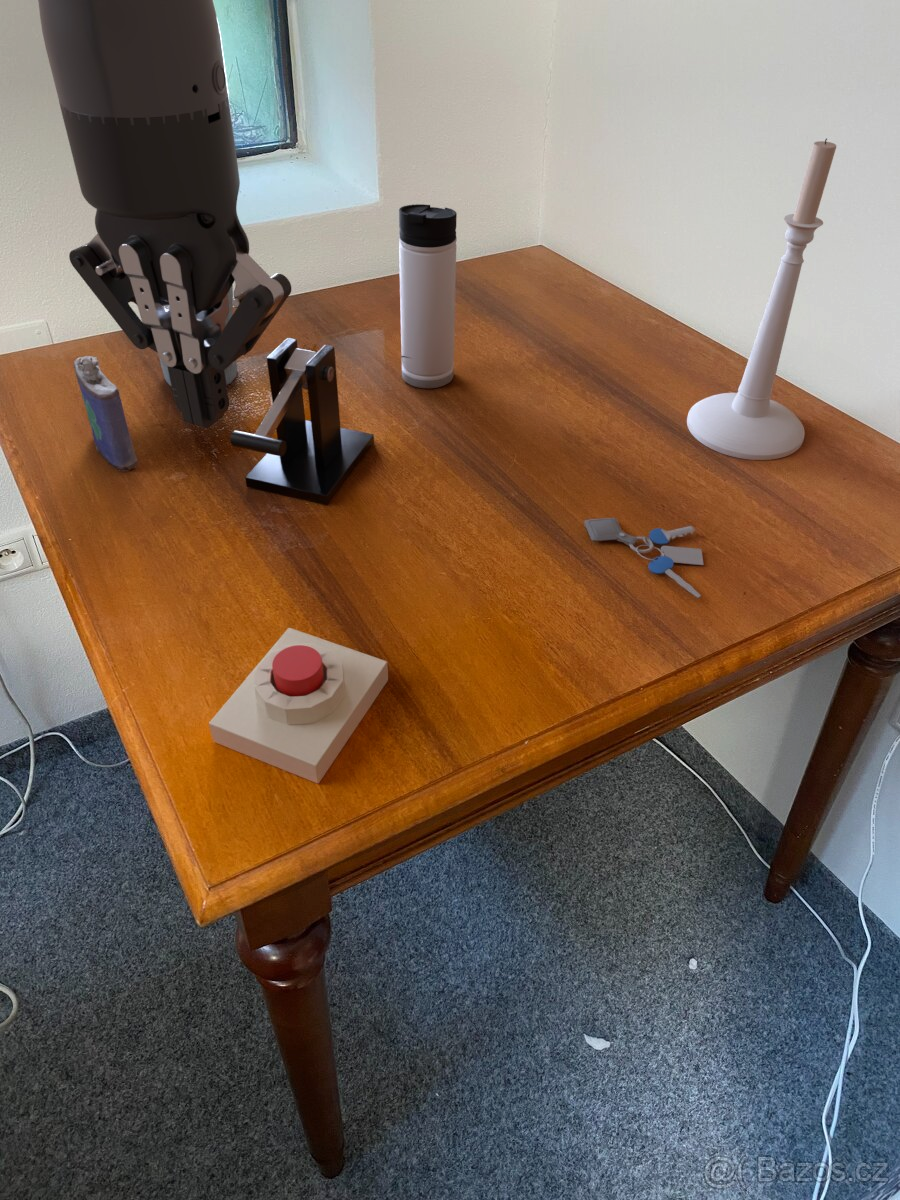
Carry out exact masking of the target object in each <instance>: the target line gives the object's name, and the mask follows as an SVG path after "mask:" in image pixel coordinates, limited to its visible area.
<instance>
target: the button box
mask: <svg viewBox="0 0 900 1200" xmlns="http://www.w3.org/2000/svg"><path fill="white" fill-rule="evenodd" d="M295 645H304V646H309V647H311V648H313V649H315V650H316V651H317V652H318V653H319V654H320V655H321V658H322V665H323V673H324V679H323V682H322V684H321V686H320V687H319V688H318V689H317V690H316V691H314V692H313V693H311V694H309V695H306V696H295V697H293V696H288V695H286V694H283V693H282V692H281V691H279V690H278V688H277V687H276V685H275V680H274V674H273V668H272V663H273V660H274V658H275V656H276V655H277V654H278V653H279V652H280V651H282V650H283V649H285V648H287V647H290V646H295ZM388 665H389V664H388V661H387V660H384V659H381V658H378V657H375V656H373V655H370V654H367V653H364V652H361V651H358V650H356V649H352V648H349V647H347V646H344V645H342V644H338V643H336V642H332V641H329V640H326V639H323V638H320V637H318V636H315V635H311V634H309V633H307V632H303V631H300V630H297V629H295V628H291V627H288V628H287V629H286V630H285V631H284V633H283V634H281V636H280V637H279V639H277V641H276V642H275V643H274V644H273V645H272V647H271V648H270V649H269V650H268V652H267V653H266V654H265V655H264V657H262V659H261V660H260V661H259V662H258V663H257V665H256V666H255V667H254V668H253V669H252V671H251V672H250V673H249V674H248V675H247V676H246V678H245V679H244V680H243V682H241V683H240V685H239V686H238V687H237V688H236V690H235V691H234V692H233V693H232V695H231V696H230V697H229V698H228V699H227V700H226V701H225V703H224V704H223V705H222V706H221V708H220V709H218V711H217V712H216V714H215V715H213V717H212V719H211V720H210V721H209V722H208V726H209V730H210V734H211V737H212V741H213V743H215V744H218V745H221V746H222V747H226V748H228V749H230V750H233V751H236V752H238V753H240V754H242V755H246V756H248V757H250V758H253V759H255V760H258V761H260V762H263V763H265V764H268V765H270V766H273V767H275V768H278V769H280V770H282V771H285V772H288V773H290V774H292V775H295V776H298V777H301V778H303V779H305V780H308V781H310V782H313V783H315V784H320V782H321V781H322V779H323V778H324V776H325V775H326V773H327V772H328V770H329V769H330V768H331V766H332V765H333V763H334V761H335V760H336V758H337V757H338V756H339V754H340V753H341V751H342V749H343V748H344V746H345V745H346V744H347V742H348V741H349V740H350V738H351V736H352V735H353V733H354V732H355V730H356V729H357V728H358V726H359V724H360V723H361V722H362V720H363V718H364V717H365V716H366V714H367V713H368V712H369V710H370V708H371V706H373V704H374V702H375V700H376V699H377V697H379V695H380V693H381V691H382V690H383V689H384V687H385V685H386V684H387V683H388V681H389V667H388Z"/></svg>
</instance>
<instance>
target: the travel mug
mask: <svg viewBox="0 0 900 1200" xmlns="http://www.w3.org/2000/svg"><path fill="white" fill-rule="evenodd" d="M457 217H458V216H457V211H456V210H454V209H452V208H448V207H444V208H441V207H436V206H435V207H433V206H431V204H423V203H421V204H417V203H415V204H407V205H403V206H401V207H399V209H398V228H399V233H398V242H399V244H398V259H399V261H398V262H399V263H398V264H399V301H400V302H399V303H400V304H399V305H400V306H399V307H400V310H399V311H400V349H401V350H400V352H401V354H400V355H401V356H400V357H401V378H402V379H403V381H404V383H407V384H408V385H409V386H412V387H415V388H418V389H438V388H442V387H444V386H447V385H448V384H450V382H452V380H453V378H454V375H455V371H454V369H455V368H454V367H455V366H454V365H455V363H454V362H455V328H456V327H455V325H456V324H455V323H456V281H457V280H456V279H457V241H458V240H457V231H456V230H457Z"/></svg>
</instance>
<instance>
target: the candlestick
mask: <svg viewBox="0 0 900 1200" xmlns="http://www.w3.org/2000/svg"><path fill="white" fill-rule="evenodd" d="M836 150H837V144H836V143H834V142H830V141H828V138H825V139H824V141H823V140H819V141H818V140H817V141H814V142H813V144H812V148H811V152H810V156H809V159H808V162H807V167H806V169H805V174H804V177H803V181H802V183H801V187H800V191H799V195H798V199H797V202H796V206H795V210H794V213H791V214H790V213H789V214H787V215H785V216H784V217H783V220H784V222H785V223H786V225H787V229H786V231H785V233H784V238H785V240H786V241H787V242H786V251H785V253H784V254H783V255H782V256H781V258H780V260H781V261H780V264H779V267H778V268H777V269H778V270H777V273H776V276H775V278H774V281H773V285H772V288H771V291H770V294H769V297H768V300H767V303H766V306H765V310H764V313H763V315H762V318H761V322H760V324H759V327H758V330H757V333H756V337H755V339H754V342H753V345H752V348H751V351H750V353H749V354H750V355H749V358H748V360H747V363H746V366H745V369H744V373H743V375H742V379H741V381H740V384H739V386H738V389H737V392H724V393H718V394H714V395H710V396H707V397H705V398H703V399H701V400H699V401H697V402H695V404H693V405H692V406H691V407H690V409H689V410H688V414H687V417H686V425H687V429H688V430H689V432H690V434H691V435H692V436H693V438H695V440H697V441H698V442H699V443H701V444H702V445H704V446H705V447H707V448H709V449H711V450H713V451H715V452H717V453H720V454H723V455H724V456H725V455H726V456H729V457H733V458H737V459H743V460H750V461H770V460H777V459H782V458H785V457H788V456H790V455H792V454H794V453H796V452H797V451H798V450H799V449H800V448H801V447H802V445H803V443H804V440H805V428H804V425H803V424H802V422H801V420H800V419H799V418H798V416H796V414H795V413H794V412H792V410H790V409H789V408H788V407H786V406H785V405H783V404H781V403H780V402H777V401H776V400H773V399H771V397H772V395H773V388H774V384H775V378H776V374H777V370H778V367H779V363H780V358H781V354H782V350H783V345H784V342H785V338H786V333H787V328H788V325H789V320H790V316H791V312H792V308H793V305H794V300H795V295H796V290H797V286H798V283H799V278H800V276H801V275H800V273H801V270H802V266H803V263H804V262H805V260H804V257H803V255H804V251H805V250H806V249H807V246H808V244H810V243H811V242H813V240H814V239H815V238H814V237H815V231H816V230H817V229H818V228H820V227H822V226H823V225H824V221H823V220H822V219H821V218H819V217H817V215H818V212H819V208H820V204H821V201H822V198H823V194H824V191H825V188H826V184H827V181H828V177H829V174H830V170H831V167H832V163H833V160H834V156H835V153H836Z"/></svg>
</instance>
